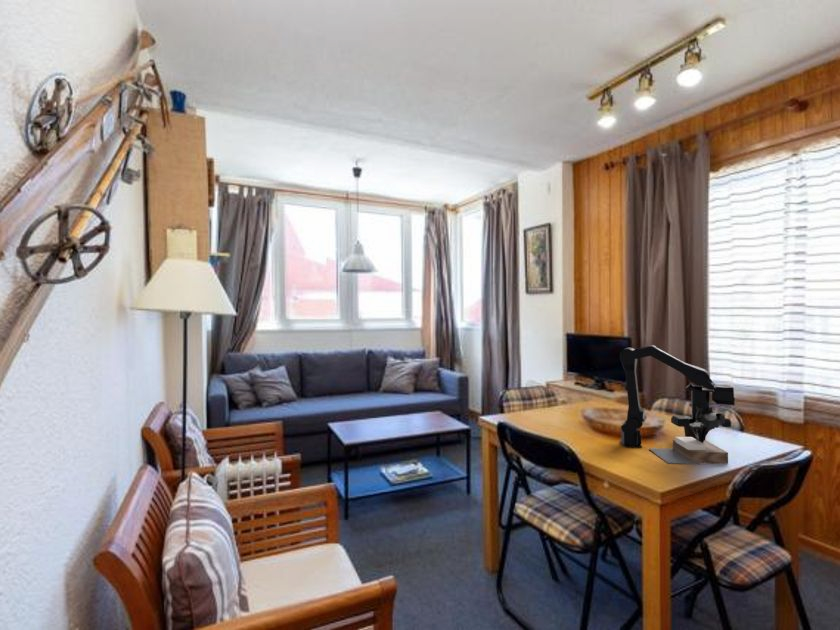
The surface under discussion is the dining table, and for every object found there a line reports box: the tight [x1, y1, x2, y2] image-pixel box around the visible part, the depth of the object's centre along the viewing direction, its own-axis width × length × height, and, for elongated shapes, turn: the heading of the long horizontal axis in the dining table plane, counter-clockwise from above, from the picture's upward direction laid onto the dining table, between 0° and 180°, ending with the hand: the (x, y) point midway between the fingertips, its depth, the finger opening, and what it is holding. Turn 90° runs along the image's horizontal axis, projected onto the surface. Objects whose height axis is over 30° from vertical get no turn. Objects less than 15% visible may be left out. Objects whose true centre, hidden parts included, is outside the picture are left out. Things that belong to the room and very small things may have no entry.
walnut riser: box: [672, 439, 729, 465], centre depth 158 cm, size 12×14×4 cm
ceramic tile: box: [674, 436, 705, 450], centre depth 158 cm, size 6×9×2 cm, turn 175°
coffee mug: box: [683, 416, 697, 440], centre depth 172 cm, size 12×9×10 cm
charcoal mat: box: [648, 448, 701, 465], centre depth 158 cm, size 11×15×1 cm
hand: (700, 443), depth 158 cm, fingers closed
